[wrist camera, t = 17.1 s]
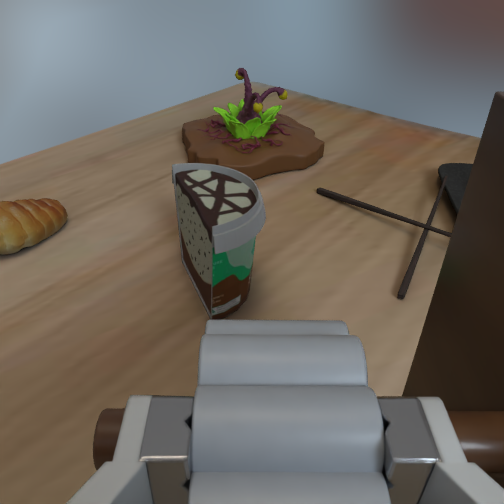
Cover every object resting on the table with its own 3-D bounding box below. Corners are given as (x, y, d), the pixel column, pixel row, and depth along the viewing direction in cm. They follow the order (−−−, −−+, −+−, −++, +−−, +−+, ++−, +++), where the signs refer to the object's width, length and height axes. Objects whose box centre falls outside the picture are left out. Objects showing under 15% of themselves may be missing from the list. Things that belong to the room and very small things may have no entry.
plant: (276, 119, 82) (279, 50, 76) (341, 163, 68) (352, 82, 62) (163, 136, 75) (157, 61, 69) (210, 189, 61) (207, 100, 54)
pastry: (48, 207, 56) (41, 177, 54) (82, 227, 52) (76, 197, 50) (-34, 240, 50) (-46, 208, 48) (-2, 266, 46) (-13, 233, 44)
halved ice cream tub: (285, 315, 41) (293, 215, 36) (217, 333, 39) (214, 230, 34) (234, 241, 51) (234, 152, 45) (178, 253, 49) (170, 162, 43)
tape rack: (112, 833, 18) (-285, 466, 4) (161, 499, 28) (93, 78, 14) (511, 829, 18) (1361, 474, 4) (415, 500, 28) (584, 88, 15)
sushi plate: (671, 332, 41) (696, 297, 39) (316, 301, 43) (321, 267, 41) (540, 181, 65) (550, 154, 62) (316, 166, 67) (319, 140, 65)
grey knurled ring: (197, 715, 12) (174, 575, 8) (215, 432, 19) (208, 265, 14) (354, 714, 12) (426, 574, 8) (316, 432, 19) (342, 267, 14)
